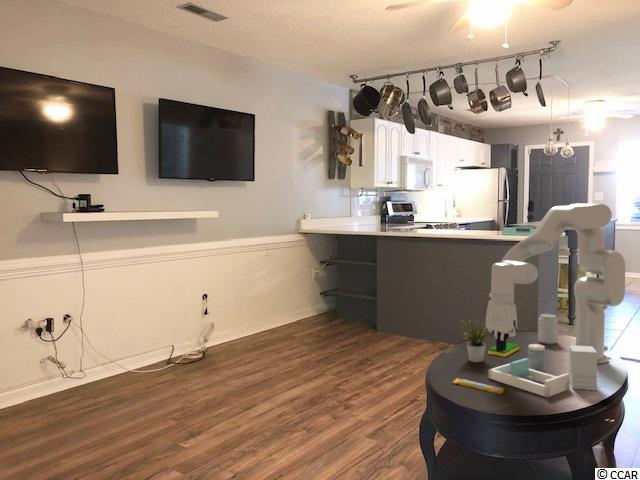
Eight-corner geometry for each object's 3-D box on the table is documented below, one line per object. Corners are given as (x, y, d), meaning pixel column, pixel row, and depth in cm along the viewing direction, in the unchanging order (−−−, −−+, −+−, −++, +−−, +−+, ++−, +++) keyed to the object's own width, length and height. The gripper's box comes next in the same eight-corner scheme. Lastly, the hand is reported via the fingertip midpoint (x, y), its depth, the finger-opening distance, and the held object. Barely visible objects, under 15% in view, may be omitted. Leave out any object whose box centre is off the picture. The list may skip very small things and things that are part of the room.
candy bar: (506, 392, 166) (506, 386, 166) (501, 396, 163) (502, 390, 162) (457, 381, 177) (457, 376, 176) (452, 385, 173) (452, 379, 173)
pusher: (525, 377, 178) (525, 358, 177) (539, 381, 173) (539, 361, 173) (510, 382, 173) (510, 362, 172) (524, 386, 169) (524, 366, 168)
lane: (510, 371, 185) (510, 357, 184) (569, 389, 167) (569, 373, 166) (488, 378, 178) (488, 363, 178) (547, 397, 160) (547, 381, 160)
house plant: (446, 360, 199) (446, 318, 198) (463, 352, 209) (464, 312, 208) (481, 368, 189) (482, 324, 188) (497, 359, 199) (498, 317, 198)
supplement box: (592, 383, 171) (593, 346, 170) (596, 391, 164) (597, 352, 163) (568, 381, 174) (569, 344, 173) (571, 388, 167) (572, 350, 166)
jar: (534, 367, 189) (534, 343, 188) (547, 371, 184) (548, 346, 184) (525, 370, 186) (525, 345, 185) (538, 374, 181) (538, 349, 181)
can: (540, 344, 218) (541, 316, 217) (536, 339, 226) (536, 312, 225) (559, 345, 217) (560, 317, 216) (554, 340, 224) (555, 313, 224)
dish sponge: (518, 350, 212) (519, 344, 212) (505, 358, 202) (505, 352, 202) (502, 347, 217) (502, 341, 217) (487, 354, 207) (487, 348, 207)
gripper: (477, 296, 183) (476, 347, 184) (514, 303, 170) (512, 357, 171) (491, 294, 187) (490, 344, 188) (528, 300, 175) (526, 354, 176)
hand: (500, 350), depth 180 cm, fingers closed
